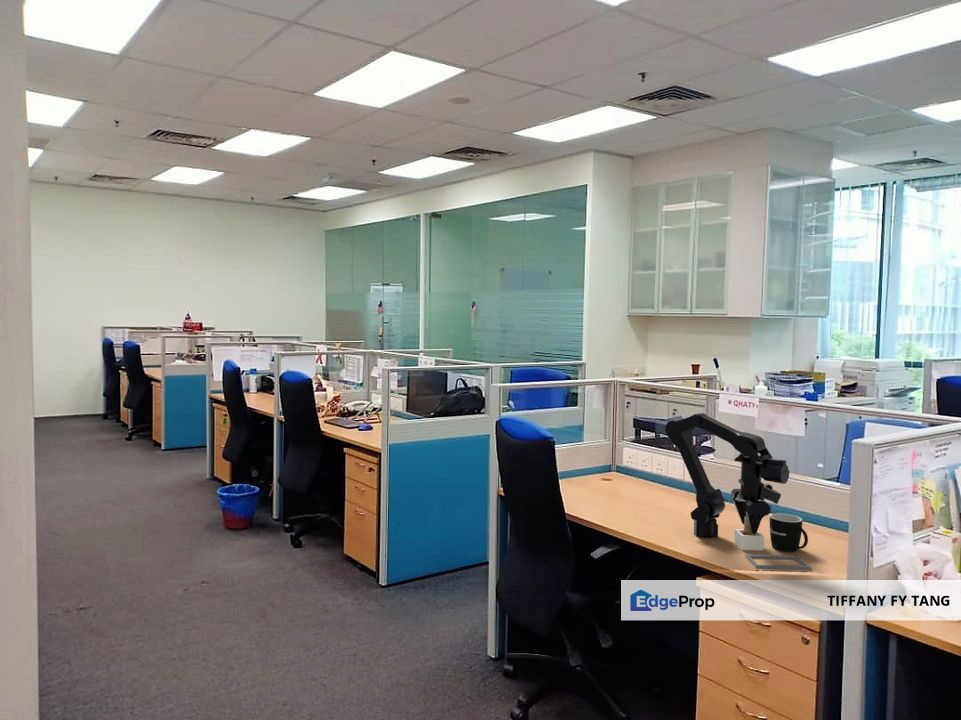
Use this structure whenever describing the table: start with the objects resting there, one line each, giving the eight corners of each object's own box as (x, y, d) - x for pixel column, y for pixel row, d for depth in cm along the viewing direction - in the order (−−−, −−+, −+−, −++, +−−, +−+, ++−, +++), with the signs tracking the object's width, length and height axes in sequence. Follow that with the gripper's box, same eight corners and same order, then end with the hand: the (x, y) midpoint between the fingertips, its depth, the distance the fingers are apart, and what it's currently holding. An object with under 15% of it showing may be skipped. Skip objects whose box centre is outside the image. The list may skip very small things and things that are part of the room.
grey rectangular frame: (755, 570, 191) (755, 565, 191) (745, 559, 200) (745, 554, 200) (811, 572, 190) (811, 567, 190) (798, 561, 199) (798, 556, 199)
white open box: (741, 552, 206) (741, 535, 206) (734, 545, 213) (734, 529, 212) (763, 553, 206) (764, 536, 206) (756, 545, 212) (756, 529, 212)
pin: (745, 547, 208) (746, 518, 207) (742, 544, 211) (743, 515, 210) (755, 548, 208) (756, 518, 207) (752, 545, 211) (753, 515, 210)
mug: (762, 548, 210) (763, 515, 209) (782, 544, 214) (783, 512, 214) (796, 560, 199) (797, 526, 199) (816, 556, 203) (818, 522, 203)
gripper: (790, 485, 198) (788, 539, 199) (767, 471, 217) (765, 520, 218) (750, 484, 199) (748, 538, 200) (731, 470, 218) (729, 519, 218)
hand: (749, 528), depth 209 cm, fingers open, 9 cm apart
